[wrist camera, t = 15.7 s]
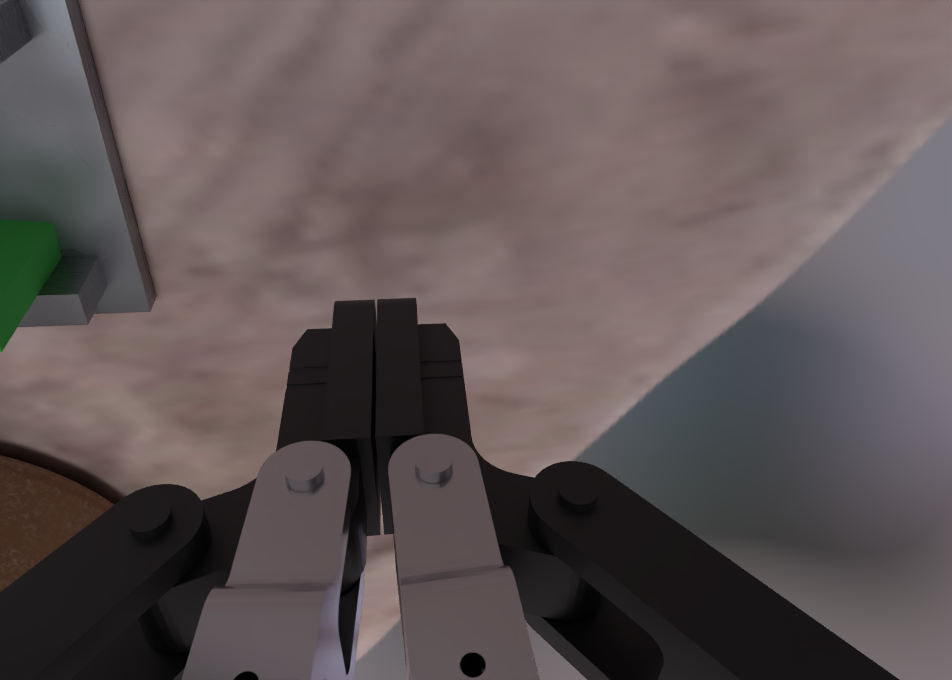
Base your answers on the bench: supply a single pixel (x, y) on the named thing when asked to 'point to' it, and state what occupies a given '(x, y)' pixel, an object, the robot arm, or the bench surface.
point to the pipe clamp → (23, 269)
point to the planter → (39, 515)
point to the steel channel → (66, 166)
